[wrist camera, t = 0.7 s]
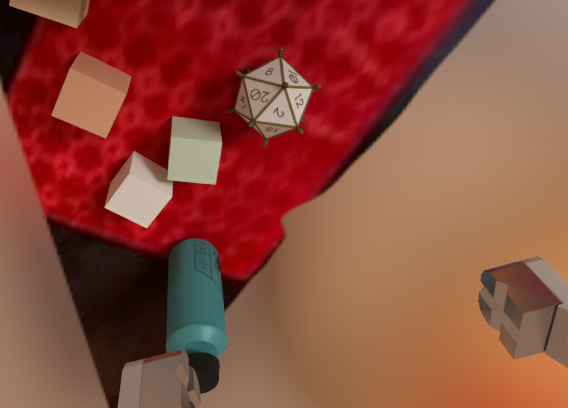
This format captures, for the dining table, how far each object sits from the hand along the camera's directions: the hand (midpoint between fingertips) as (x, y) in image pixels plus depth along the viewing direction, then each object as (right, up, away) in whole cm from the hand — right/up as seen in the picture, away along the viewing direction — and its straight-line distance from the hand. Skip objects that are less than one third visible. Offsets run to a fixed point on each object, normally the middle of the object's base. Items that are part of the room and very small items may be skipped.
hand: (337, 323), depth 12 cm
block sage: (-11, +10, +39) cm, 42 cm away
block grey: (-18, +6, +40) cm, 44 cm away
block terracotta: (-20, +15, +34) cm, 42 cm away
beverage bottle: (-13, -2, +47) cm, 49 cm away
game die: (-3, +16, +37) cm, 40 cm away
